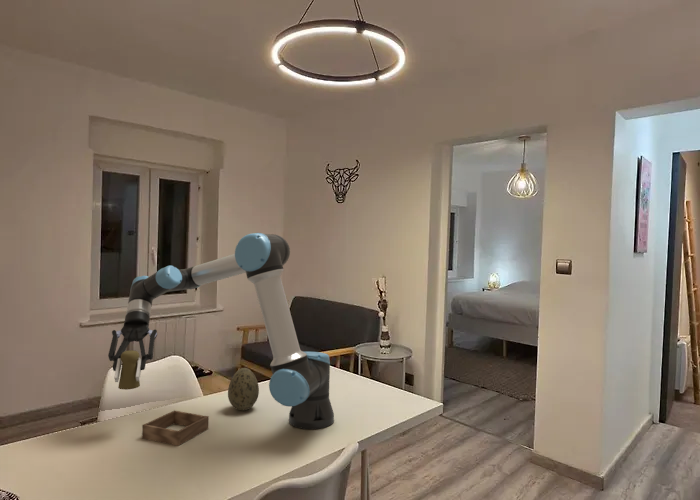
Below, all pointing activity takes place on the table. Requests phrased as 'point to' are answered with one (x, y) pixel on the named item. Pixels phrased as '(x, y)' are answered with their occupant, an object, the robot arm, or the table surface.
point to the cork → (129, 370)
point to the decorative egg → (243, 389)
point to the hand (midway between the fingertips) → (126, 379)
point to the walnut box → (160, 433)
